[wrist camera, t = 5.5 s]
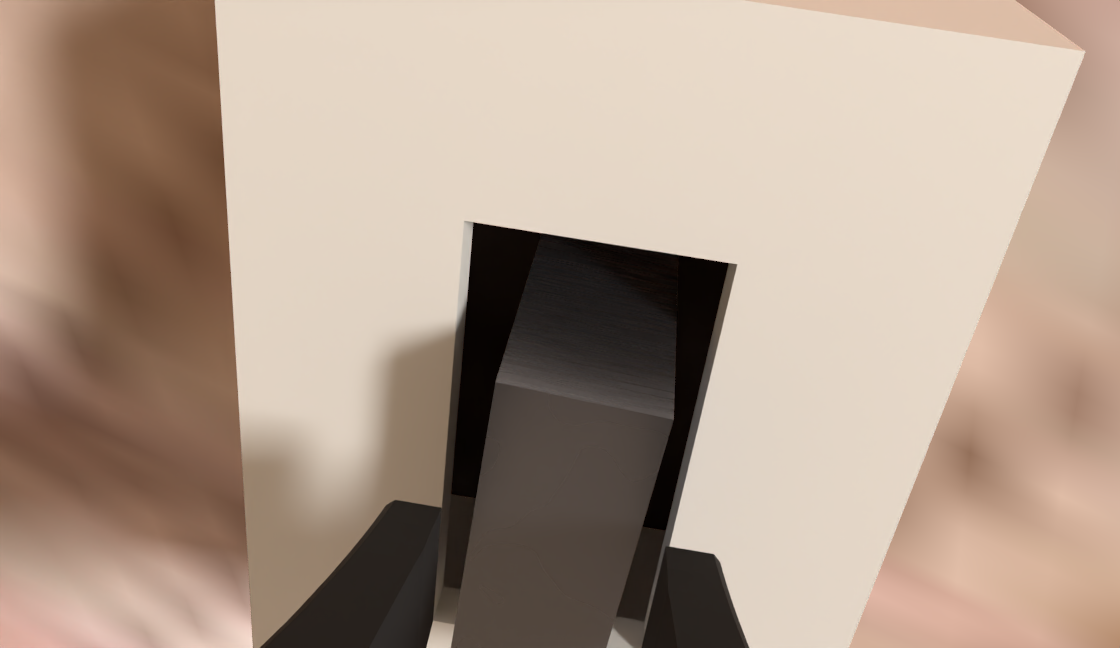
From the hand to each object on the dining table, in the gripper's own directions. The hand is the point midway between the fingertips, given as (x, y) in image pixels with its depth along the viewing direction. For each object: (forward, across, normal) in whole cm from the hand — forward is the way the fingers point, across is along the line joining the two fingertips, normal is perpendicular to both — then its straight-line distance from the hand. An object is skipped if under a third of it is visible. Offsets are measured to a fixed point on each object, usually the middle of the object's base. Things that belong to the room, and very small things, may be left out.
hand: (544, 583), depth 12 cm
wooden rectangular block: (+6, 0, 0) cm, 6 cm away
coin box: (+8, 0, 0) cm, 8 cm away
